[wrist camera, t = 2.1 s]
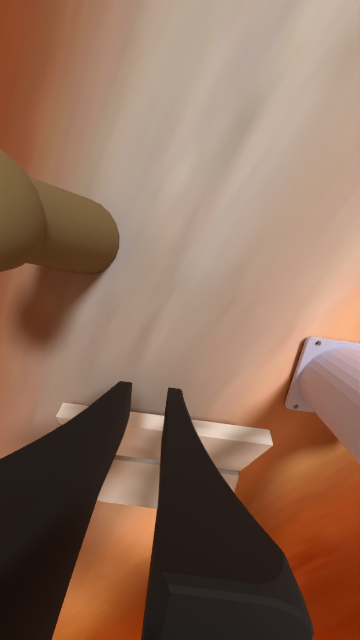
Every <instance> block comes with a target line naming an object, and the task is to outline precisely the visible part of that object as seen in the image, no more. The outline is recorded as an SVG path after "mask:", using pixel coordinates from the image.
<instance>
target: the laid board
mask: <svg viewBox="0 0 360 640" xmlns="http://www.w3.org/2000/svg"><path fill="white" fill-rule="evenodd" d="M217 469H218V470H219V472H220V473H221V475H222V476H223V478H224V479H225V480H226V482H227V483H228V485H229V486H230V487H231V489H232V490H233V492H235V489H236V485H237V482H238V478H239V473H238V471H236V470H228V469H220V468H217ZM159 474H160V461H159V460H151V459H144V458H136V457H128V456H121V455H115V458H114V460H113V462H112V465H111V467H110V469H109V472H108V474H107V476H106V479H105V481H104V483H103V486H102V488H101V491H100V493H99V496H98V498H97V501H102V502H110V503H117V504H125V505H133V506H141V507H148V508H156V509H157V505H158V493H159Z"/></svg>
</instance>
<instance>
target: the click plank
mask: <svg viewBox="0 0 360 640" xmlns="http://www.w3.org/2000/svg"><path fill="white" fill-rule="evenodd" d="M87 407H89V406H85V405H78V404H70V403H63V404H62V406H61V408H60V410H59V412H58V414H57V415H56V418H57V419H58V421H59V422H60V423H61V425H63V424H65V423H66V422H68V421H69V420H71V419H72V418H73V417H75V416H76V415H78V414H79V413H80V412H82V411H83V410H85V409H86V408H87ZM191 420H192V419H191ZM192 423H193V425H194V427H195V430H196V432H197V434H198V436H199V438H200V440H201V442H202V444H203V445H204V447H205V449H206V451H207V452H208V454H209V456H210V458H211V459H212V461H213V462H214V464H215V466H216V467H217V468H220V469H228V470H236V471H241V470H243V469H244V468H245V467H246V466H248V465H249V464H250V463H251V462H253V461H254V460H255V459H256V458H258V457H259V456H260V455H262V454H263V453H264V452H265V451H267V450H268V449H269V448H270V447H272V446H273V443H272V439H271V435H270V431H269V430H268V429H260V428H253V427H245V426H237V425H230V424H222V423H214V422H207V421H199V420H192ZM163 424H164V416H161V415H154V414H146V413H138V412H131V411H130V417H129V420H128V424H127V427H126V430H125V433H124V436H123V439H122V441H121V444H120V446H119V448H118V451H117V453H116V455H121V456H128V457H136V458H144V459H151V460H159V461H160V455H161V439H162V431H163Z"/></svg>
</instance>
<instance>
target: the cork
mask: <svg viewBox="0 0 360 640" xmlns="http://www.w3.org/2000/svg"><path fill="white" fill-rule="evenodd" d="M118 249H119V233H118V229H117V225H116V223H115V221H114V219H113V218H112V216H111V214H110V213H109V212H108V211H107V210H106V209H105V208H104V207H103V206H102V205H101V204H98V203H96V202H94V201H92V200H90V199H88V198H85V197H82V196H80V195H77V194H74V193H71V192H69V191H66V190H63V189H60V188H58V187H55V186H52V185H50V184H47V183H44V182H41V181H39V180H36V179H33V178H30V177H28V175H27V174H26V173H25V172H24V171H23V170H22V169H21V168H20V167H19V166H18V165H17V164H16V163H15V162H14V161H13V160H12V159H11V158H10V157H9V156H8V155H7V154H5V153H4V152H3V151H2V150H1V149H0V272H2V271H6V270H11V269H14V268H17V267H19V266H22V265H23V264H25V263H29V264H35V265H41V266H46V267H52V268H58V269H63V270H69V271H75V272H81V273H89V274H91V273H96V272H101V271H102V270H104V269H105V268H107V267H109V266H110V264H111V263H112V262H113V260H114V259H115V258H116V255H117V252H118Z"/></svg>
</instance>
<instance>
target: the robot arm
mask: <svg viewBox="0 0 360 640" xmlns="http://www.w3.org/2000/svg"><path fill="white" fill-rule="evenodd" d="M317 341H318V344H316V345H315V343H316V342H317ZM131 392H132V383H130V382H123V381H120V382H118V383H117V384H116V385H115V386H114V387H112V388H111V389H110V390H109V391H108V392H106V393H105V394H104V395H103V396H101V397H100V398H99V399H98V400H96V401H95V402H94V403H92V404H91V405H90V406H89V407H87V408H86V409H85V410H83V411H82V412H80V413H79V414H78V415H76V416H75V417H73V418H72V419H71V420H69V421H68V422H66V423H65V424H63V425H61V426H60V427H58V428H57V429H55V430H53V431H52V432H50V433H48V434H47V435H45V436H43V437H41V438H40V439H38V440H36V441H34V442H32V443H30V444H28V445H27V446H25V447H23V448H21V449H19V450H17V451H15V452H13V453H11V454H9V455H7V456H5V457H3V458H1V459H0V640H52V637H53V633H54V630H55V627H56V624H57V620H58V617H59V614H60V611H61V608H62V604H63V601H64V598H65V595H66V592H67V589H68V586H69V582H70V579H71V576H72V573H73V570H74V567H75V564H76V561H77V558H78V555H79V552H80V549H81V546H82V543H83V540H84V537H85V533H86V530H87V528H88V525H89V522H90V519H91V516H92V513H93V510H94V507H95V504H96V501H97V498H98V496H99V493H100V491H101V488H102V486H103V483H104V481H105V479H106V476H107V474H108V472H109V469H110V467H111V465H112V462H113V460H114V458H115V455H116V453H117V451H118V448H119V446H120V444H121V441H122V439H123V436H124V433H125V430H126V427H127V424H128V420H129V417H130V406H131ZM294 405H296V406H294ZM285 406H286V408H287V409H289V410H296V411H303V412H311V413H316V415H317V416H318V417H319V418H320V419H321V420H322V421H323V423H324V424H325V425H326V426H327V427H328V428H329V430H330V431H331V432H332V433H333V434H334V435H335V436H336V438H337V439H338V440H339V441H340V442H341V443H342V445H343V446H344V447H345V448H346V449H347V450H348V451H349V453H350V454H351V455H352V456H353V457H354V458H355V460H356V461H357V462H358V463H359V464H360V343H357V342H349V341H342V340H334V339H327V338H319V337H308V338H307V339H306V340H305V343H304V346H303V349H302V352H301V355H300V358H299V361H298V364H297V367H296V370H295V373H294V376H293V380H292V383H291V386H290V389H289V392H288V395H287V398H286V401H285ZM313 634H314V632H313V626H312V622H311V619H310V616H309V613H308V610H307V608H306V605H305V602H304V599H303V596H302V594H301V591H300V589H299V586H298V584H297V582H296V579H295V577H294V575H293V572H292V570H291V568H290V565H289V563H288V561H287V559H286V556H285V554H284V552H283V551H282V550H281V549H280V548H279V547H278V545H277V544H276V543H275V542H274V541H273V540H272V539H271V537H270V536H269V535H268V534H267V533H266V532H265V531H264V529H263V528H262V527H261V526H260V525H259V524H258V522H257V521H256V520H255V519H254V518H253V516H252V515H251V514H250V513H249V511H248V510H247V509H246V508H245V506H244V505H243V504H242V502H241V501H240V500H239V499H238V497H237V496H236V495H235V493H234V492H233V490H232V489H231V487H230V486H229V485H228V483H227V482H226V480H225V479H224V478H223V476H222V475H221V473H220V472H219V470H218V469H217V467H216V466H215V464H214V462H213V461H212V459H211V458H210V456H209V454H208V452H207V451H206V449H205V447H204V445H203V444H202V442H201V440H200V438H199V436H198V434H197V432H196V430H195V427H194V425H193V423H192V420H191V418H190V416H189V413H188V410H187V408H186V405H185V402H184V398H183V394H182V391H181V389H176V388H168V393H167V401H166V408H165V416H164V424H163V431H162V439H161V455H160V474H159V493H158V505H157V514H156V523H155V531H154V539H153V547H152V555H151V563H150V571H149V579H148V587H147V595H146V603H145V612H144V620H143V628H142V636H141V640H312V639H313Z"/></svg>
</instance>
